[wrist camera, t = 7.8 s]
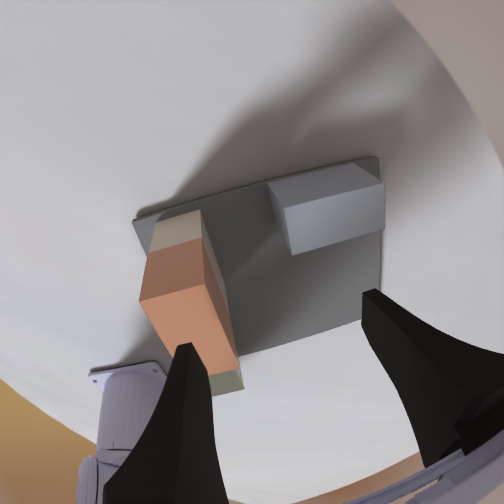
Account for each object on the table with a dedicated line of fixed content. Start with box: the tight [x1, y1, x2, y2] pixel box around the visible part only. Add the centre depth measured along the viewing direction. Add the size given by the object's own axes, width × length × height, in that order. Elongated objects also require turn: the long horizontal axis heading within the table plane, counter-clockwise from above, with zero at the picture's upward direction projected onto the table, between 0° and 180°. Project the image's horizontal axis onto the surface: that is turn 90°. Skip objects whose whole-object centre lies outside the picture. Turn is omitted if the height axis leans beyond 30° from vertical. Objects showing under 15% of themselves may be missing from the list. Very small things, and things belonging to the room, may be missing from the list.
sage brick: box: [209, 353, 244, 396], centre depth 24 cm, size 6×3×4 cm, turn 12°
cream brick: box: [149, 209, 230, 315], centre depth 20 cm, size 6×3×4 cm, turn 12°
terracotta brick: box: [139, 238, 240, 376], centre depth 16 cm, size 6×3×4 cm, turn 12°
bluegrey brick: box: [267, 163, 385, 255], centre depth 19 cm, size 6×3×4 cm, turn 102°
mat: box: [132, 156, 381, 357], centre depth 24 cm, size 15×17×1 cm
